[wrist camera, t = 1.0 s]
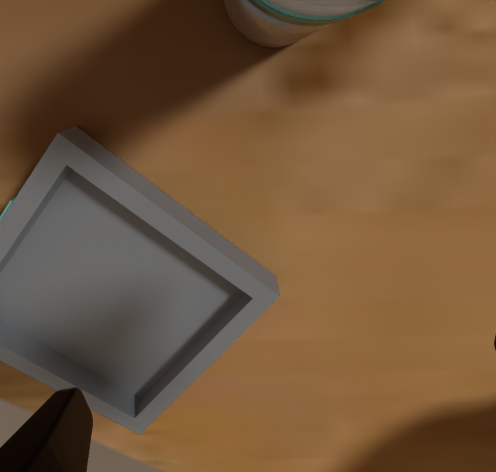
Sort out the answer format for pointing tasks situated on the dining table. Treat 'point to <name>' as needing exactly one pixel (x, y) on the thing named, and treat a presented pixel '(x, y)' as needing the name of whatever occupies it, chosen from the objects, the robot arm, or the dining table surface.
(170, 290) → the tray
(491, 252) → the dining table surface
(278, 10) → the canister
